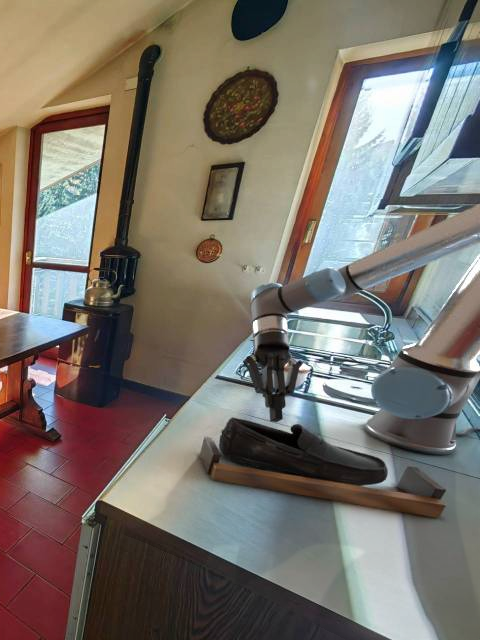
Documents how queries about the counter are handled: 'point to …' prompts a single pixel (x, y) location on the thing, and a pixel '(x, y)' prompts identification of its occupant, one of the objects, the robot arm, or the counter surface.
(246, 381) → the counter surface
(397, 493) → the wooden plank on wedges
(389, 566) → the counter surface
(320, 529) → the counter surface
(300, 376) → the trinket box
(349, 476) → the loafer
